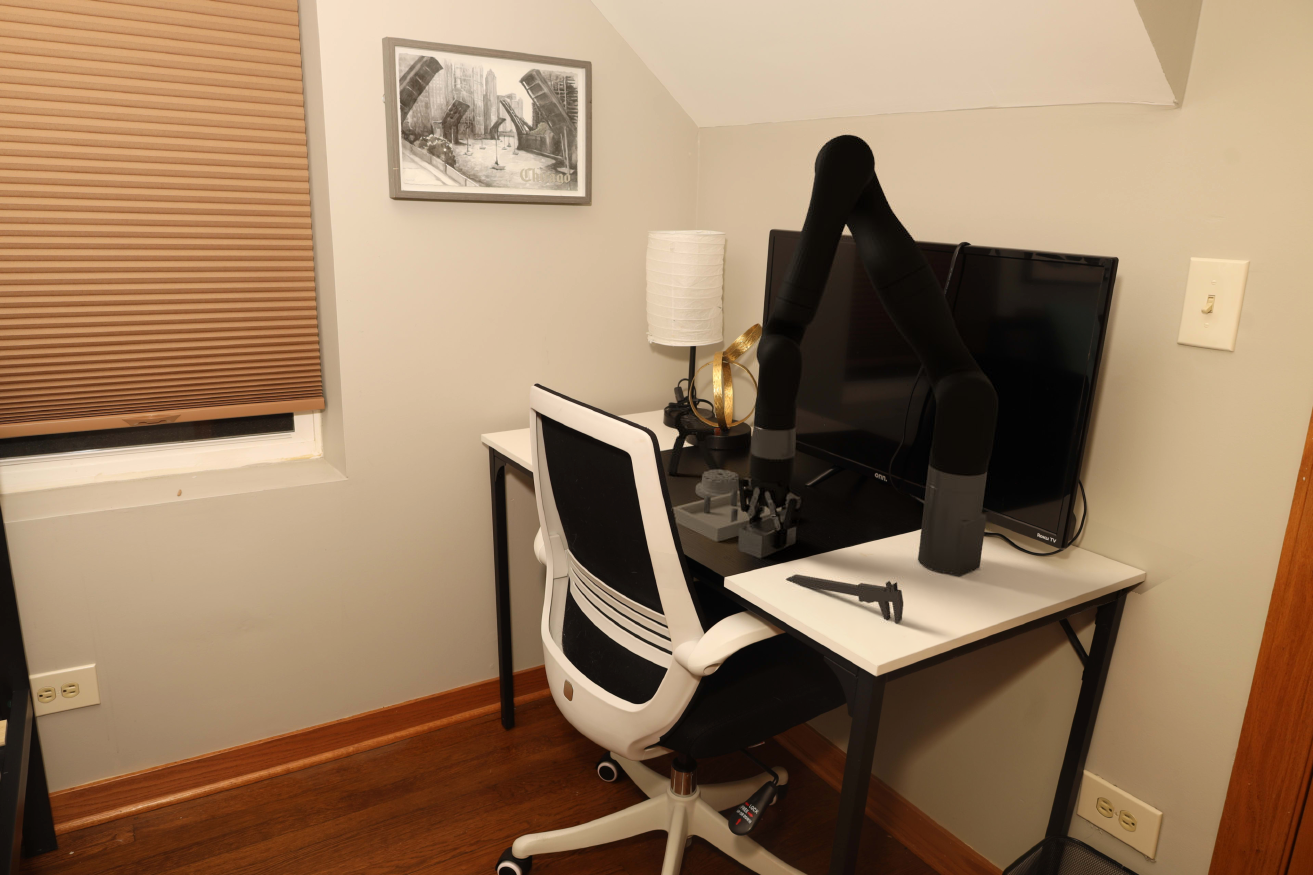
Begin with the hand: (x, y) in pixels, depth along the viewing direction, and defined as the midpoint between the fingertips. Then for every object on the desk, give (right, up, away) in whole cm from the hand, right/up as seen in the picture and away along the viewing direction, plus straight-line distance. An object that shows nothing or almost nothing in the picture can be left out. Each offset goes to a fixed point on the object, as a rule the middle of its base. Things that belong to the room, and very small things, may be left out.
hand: (766, 542), depth 154 cm
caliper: (+9, -7, -20) cm, 23 cm away
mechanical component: (-6, +7, +27) cm, 29 cm away
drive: (0, -1, 0) cm, 1 cm away
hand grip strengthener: (-11, +10, +37) cm, 40 cm away
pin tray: (-5, +3, +12) cm, 14 cm away
